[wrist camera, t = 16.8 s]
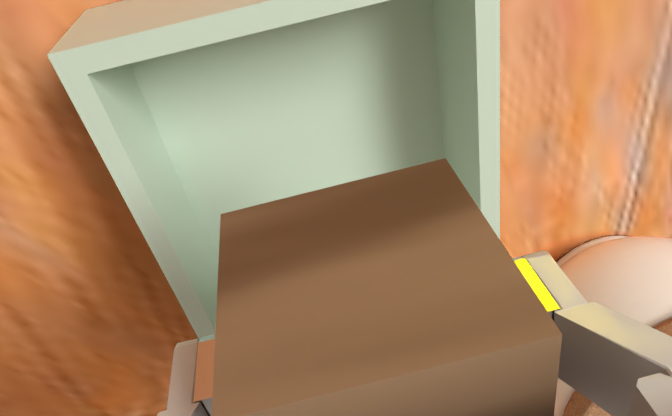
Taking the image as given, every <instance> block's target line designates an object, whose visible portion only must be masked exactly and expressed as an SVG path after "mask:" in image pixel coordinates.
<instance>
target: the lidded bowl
mask: <svg viewBox="0 0 672 416" xmlns="http://www.w3.org/2000/svg"><path fill="white" fill-rule="evenodd" d="M556 263H557V264H558V266H559V267H560V268H561V269H562V271H563V272H564V273H565V275H566V276H567V277H568V278H569V280H570V281H571V282H572V284H573V285H574V286H575V287H576V289H577V290H578V291H579V293H580V294H581V295H582V297H583V298H584V299H585V300H586V302H587V303H589V302H594V301H595V302H597V303H599V304H601V305H603V306H606V307H608V308H610V309H612V310H614V311H617V312H619V313H621V314H623V315H625V316H628V317H630V318H632V319H634V320H636V321H638V322H641V323H643V324H645V325H647V326H649V327H652V328H654V329H656V330H658V331H660V332H663V333H665V334H667V335H669V336H671V337H672V238H666V237H658V236H631V237H629V236H623V235H611V236H605V237H600V238H597V239H593V240H591V241H588V242H586V243H583V244H581V245H580V246H578V247H576V248H574V249H572V250H571V251H569V252H568V253H566V254H565V255H564V256H563V257H561V258H560V259H559V260H558V261H557V262H556ZM554 416H612V415H610V414H609V413H607V412H606V411H605V410H603V409H602V408H600V407H599V406H598V405H596V404H595V403H593V402H592V401H590V400H589V399H588V398H586V397H585V396H583V395H582V394H580V393H579V392H578V391H576V390H575V389H573V388H572V387H571V386H569V385H568V384H566V383H565V382H563V381H562V380H561V379H559V378H558V381H557V390H556V400H555V410H554Z"/></svg>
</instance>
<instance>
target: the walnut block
mask: <svg viewBox="0 0 672 416" xmlns="http://www.w3.org/2000/svg"><path fill="white" fill-rule="evenodd" d="M561 342H562V333H561V331H560V330H559V328H558V327H557V325H556V324H555V322H554V321H553V319H552V318H551V316H550V315H549V313H548V312H547V310H546V309H545V307H544V306H543V304H542V303H541V301H540V300H539V298H538V297H537V295H536V294H535V292H534V291H533V289H532V288H531V286H530V285H529V283H528V282H527V280H526V279H525V277H524V276H523V274H522V273H521V271H520V270H519V268H518V267H517V265H516V264H515V262H514V261H513V259H512V258H511V256H510V255H509V253H508V252H507V250H506V248H505V247H504V245H503V244H502V242H501V241H500V239H499V238H498V236H497V235H496V233H495V232H494V230H493V229H492V227H491V226H490V224H489V223H488V221H487V220H486V218H485V217H484V215H483V214H482V212H481V211H480V209H479V208H478V206H477V205H476V203H475V202H474V200H473V199H472V197H471V196H470V194H469V193H468V191H467V190H466V188H465V187H464V185H463V184H462V182H461V181H460V179H459V178H458V176H457V175H456V173H455V172H454V170H453V169H452V167H451V166H450V164H449V163H448V161H447V160H446V158H444V159H440V160H436V161H432V162H428V163H424V164H420V165H416V166H412V167H408V168H404V169H400V170H396V171H392V172H388V173H384V174H380V175H376V176H372V177H368V178H364V179H360V180H356V181H352V182H347V183H343V184H339V185H335V186H331V187H327V188H323V189H319V190H315V191H311V192H307V193H303V194H299V195H295V196H291V197H287V198H283V199H279V200H275V201H271V202H267V203H263V204H259V205H255V206H251V207H247V208H243V209H239V210H235V211H231V212H227V213H223V214H221V217H220V240H219V262H218V285H217V308H216V330H215V353H214V376H213V398H212V416H554V410H555V400H556V390H557V381H558V371H559V361H560V352H561Z"/></svg>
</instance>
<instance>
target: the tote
mask: <svg viewBox="0 0 672 416" xmlns="http://www.w3.org/2000/svg"><path fill="white" fill-rule="evenodd" d="M47 56H48V58H49V60H50V62H51V64H52V65H53V67H54V69H55V71H56V73H57V75H58V77H59V79H60V80H61V82H62V84H63V86H64V88H65V90H66V92H67V94H68V95H69V97H70V99H71V101H72V103H73V105H74V107H75V109H76V110H77V112H78V114H79V116H80V118H81V120H82V122H83V123H84V125H85V127H86V129H87V131H88V133H89V135H90V137H91V138H92V140H93V142H94V144H95V146H96V148H97V150H98V152H99V153H100V155H101V157H102V159H103V161H104V163H105V165H106V167H107V168H108V170H109V172H110V174H111V176H112V178H113V180H114V182H115V183H116V185H117V187H118V189H119V191H120V193H121V195H122V197H123V198H124V200H125V202H126V204H127V206H128V208H129V210H130V212H131V213H132V215H133V217H134V219H135V221H136V223H137V225H138V227H139V228H140V230H141V232H142V234H143V236H144V238H145V240H146V242H147V243H148V245H149V247H150V249H151V251H152V253H153V255H154V256H155V258H156V260H157V262H158V264H159V266H160V268H161V270H162V271H163V273H164V275H165V277H166V279H167V281H168V283H169V285H170V286H171V288H172V290H173V292H174V294H175V296H176V298H177V300H178V301H179V303H180V305H181V307H182V309H183V311H184V313H185V315H186V316H187V318H188V320H189V322H190V324H191V326H192V328H193V330H194V331H195V333H196V335H197V337H198V338H200V337H204V336H208V335H213V334H215V330H216V308H217V285H218V262H219V240H220V217H221V214H223V213H227V212H231V211H235V210H239V209H243V208H247V207H251V206H255V205H259V204H263V203H267V202H271V201H275V200H279V199H283V198H287V197H291V196H295V195H299V194H303V193H307V192H311V191H315V190H319V189H323V188H327V187H331V186H335V185H339V184H343V183H347V182H352V181H356V180H360V179H364V178H368V177H372V176H376V175H380V174H384V173H388V172H392V171H396V170H400V169H404V168H408V167H412V166H416V165H420V164H424V163H428V162H432V161H436V160H440V159H444V158H446V160H447V161H448V163H449V164H450V166H451V167H452V169H453V170H454V172H455V173H456V175H457V176H458V178H459V179H460V181H461V182H462V184H463V185H464V187H465V188H466V190H467V191H468V193H469V194H470V196H471V197H472V199H473V200H474V202H475V203H476V205H477V206H478V208H479V209H480V211H481V212H482V214H483V215H484V217H485V218H486V220H487V221H488V223H489V224H490V226H491V227H492V229H493V230H494V232H495V233H496V235H497V236H498V238H499V239H500V0H124V1H120V2H115V3H111V4H107V5H103V6H99V7H95V8H90V9H86V10H85V11H84V12H83V14H82V15H81V16H80V17H79V18H78V19H77V20H76V22H75V23H74V24H73V25H72V26H71V27H70V29H69V30H68V31H67V32H66V33H65V34H64V35H63V37H62V38H61V39H60V40H59V41H58V42H57V44H56V45H55V46H54V47H53V48H52V49H51V51H50V52H49V53H48V54H47Z"/></svg>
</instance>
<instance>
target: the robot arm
mask: <svg viewBox="0 0 672 416" xmlns="http://www.w3.org/2000/svg"><path fill="white" fill-rule="evenodd" d="M513 261H514V262H515V264H516V265H517V267H518V268H519V270H520V271H521V273H522V274H523V276H524V277H525V279H526V280H527V282H528V283H529V285H530V286H531V288H532V289H533V291H534V292H535V294H536V295H537V297H538V298H539V300H540V301H541V303H542V304H543V306H544V307H545V309H546V310H547V312H548V313H549V315H550V316H551V318H552V319H553V321H554V322H555V324H556V325H557V327H558V328H559V330H560V331H561V333H562V342H561V352H560V361H559V371H558V378H559V379H561V380H562V381H563V382H565V383H566V384H568V385H569V386H571V387H572V388H573V389H575V390H576V391H578V392H579V393H580V394H582V395H583V396H585V397H586V398H588V399H589V400H590V401H592V402H593V403H595V404H596V405H598V406H599V407H600V408H602V409H603V410H605V411H606V412H607V413H609V414H610V415H612V416H672V337H671V336H669V335H667V334H665V333H663V332H660V331H658V330H656V329H654V328H652V327H649V326H647V325H645V324H643V323H641V322H638V321H636V320H634V319H632V318H630V317H628V316H625V315H623V314H621V313H619V312H617V311H614V310H612V309H610V308H608V307H606V306H603V305H601V304H599V303H597V302H595V301H594V302H589V303H587V302H586V300H585V299H584V298H583V297H582V295H581V294H580V293H579V291H578V290H577V289H576V287H575V286H574V285H573V284H572V282H571V281H570V280H569V278H568V277H567V276H566V275H565V273H564V272H563V271H562V269H561V268H560V267H559V266H558V264H557V263H556V262H555V260H554V259H553V258H552V256H551V255H550V254H549V253H548V252H546V251H540V252H536V253H533V254H529V255H525V256H522V257H517V258H513ZM214 353H215V334H213V335H208V336H204V337H200V338H197V339H192V340H188V341H184V342H179V343H177V344H176V346H175V348H174V352H173V360H172V367H171V375H170V383H169V391H168V399H167V407H166V410H165V411H161V412H159V413H158V414H157V416H212V398H213V376H214Z"/></svg>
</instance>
